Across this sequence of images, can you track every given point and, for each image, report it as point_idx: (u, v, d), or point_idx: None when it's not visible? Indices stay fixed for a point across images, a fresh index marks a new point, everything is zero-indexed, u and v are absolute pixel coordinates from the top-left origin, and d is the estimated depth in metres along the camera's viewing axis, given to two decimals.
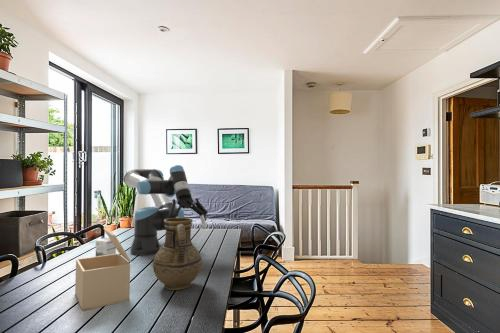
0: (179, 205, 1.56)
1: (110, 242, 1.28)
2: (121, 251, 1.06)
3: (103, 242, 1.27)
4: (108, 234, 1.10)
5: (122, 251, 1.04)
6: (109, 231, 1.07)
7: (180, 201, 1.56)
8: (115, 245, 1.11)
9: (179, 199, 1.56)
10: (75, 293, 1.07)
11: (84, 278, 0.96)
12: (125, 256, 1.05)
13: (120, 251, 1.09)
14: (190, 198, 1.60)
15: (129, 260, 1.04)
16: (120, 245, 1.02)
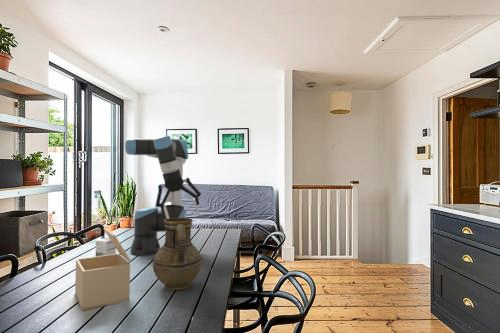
0: None
1: (110, 242, 1.28)
2: (121, 251, 1.06)
3: (103, 242, 1.27)
4: (108, 234, 1.10)
5: (122, 251, 1.04)
6: (109, 231, 1.07)
7: (167, 186, 1.37)
8: (115, 245, 1.11)
9: (166, 184, 1.36)
10: (75, 293, 1.07)
11: (84, 278, 0.96)
12: (125, 256, 1.05)
13: (120, 251, 1.09)
14: (179, 180, 1.37)
15: (129, 260, 1.04)
16: (120, 245, 1.02)
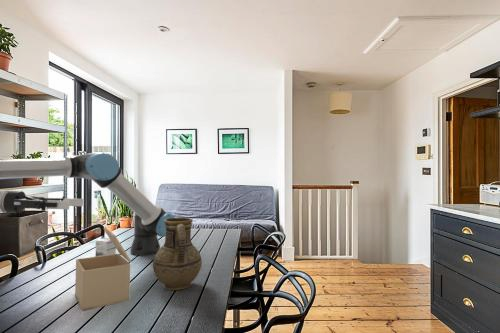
0: (37, 199, 1.10)
1: (110, 242, 1.28)
2: (121, 251, 1.06)
3: (103, 242, 1.27)
4: (108, 234, 1.10)
5: (122, 251, 1.04)
6: (109, 231, 1.07)
7: None
8: (115, 245, 1.11)
9: None
10: (75, 293, 1.07)
11: (84, 278, 0.96)
12: (125, 256, 1.05)
13: (120, 251, 1.09)
14: None
15: (129, 260, 1.04)
16: (120, 245, 1.02)
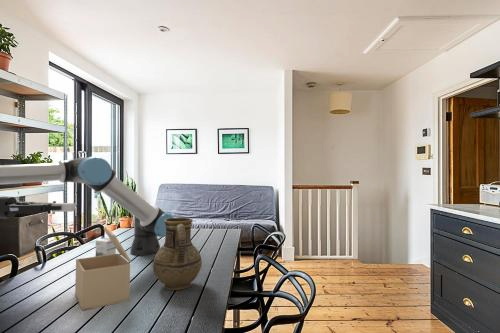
0: None
1: (110, 242, 1.28)
2: (121, 251, 1.06)
3: (103, 242, 1.27)
4: (108, 234, 1.10)
5: (122, 251, 1.04)
6: (109, 231, 1.07)
7: None
8: (115, 245, 1.11)
9: None
10: (75, 293, 1.07)
11: (84, 278, 0.96)
12: (125, 256, 1.05)
13: (120, 251, 1.09)
14: (8, 211, 1.03)
15: (129, 260, 1.04)
16: (120, 245, 1.02)
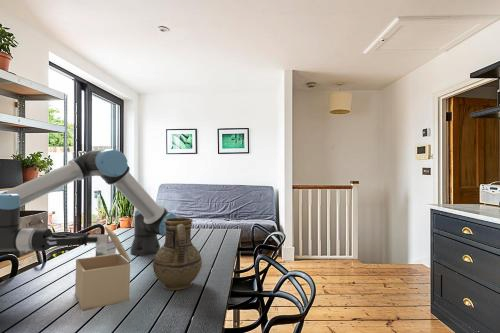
0: None
1: (110, 242, 1.28)
2: (121, 251, 1.06)
3: None
4: (109, 233, 1.10)
5: (122, 251, 1.04)
6: (110, 230, 1.07)
7: None
8: (115, 245, 1.11)
9: None
10: (75, 293, 1.07)
11: (84, 278, 0.96)
12: (125, 256, 1.05)
13: (120, 251, 1.09)
14: (45, 244, 1.04)
15: (129, 260, 1.04)
16: (121, 245, 1.02)
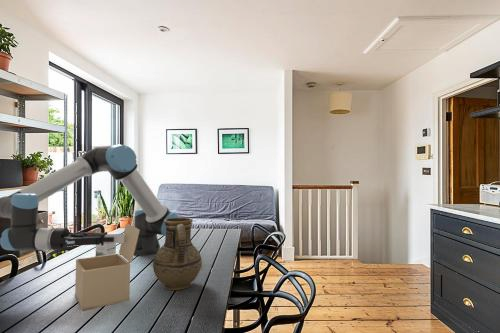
0: None
1: None
2: (129, 249, 1.08)
3: None
4: (128, 229, 1.14)
5: (132, 248, 1.05)
6: None
7: None
8: (124, 243, 1.13)
9: None
10: (75, 293, 1.07)
11: (84, 278, 0.96)
12: (130, 255, 1.05)
13: (126, 249, 1.10)
14: (64, 244, 1.05)
15: (131, 260, 1.04)
16: (135, 242, 1.05)
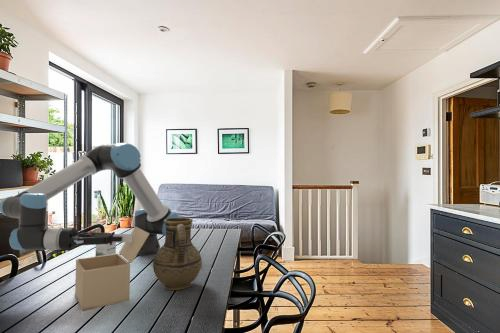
0: None
1: None
2: (132, 250, 1.08)
3: None
4: (136, 232, 1.16)
5: (136, 250, 1.06)
6: (143, 230, 1.13)
7: None
8: (128, 244, 1.14)
9: None
10: (75, 293, 1.07)
11: (84, 278, 0.96)
12: (132, 255, 1.06)
13: (128, 250, 1.10)
14: (72, 243, 1.06)
15: (131, 260, 1.04)
16: (142, 244, 1.06)
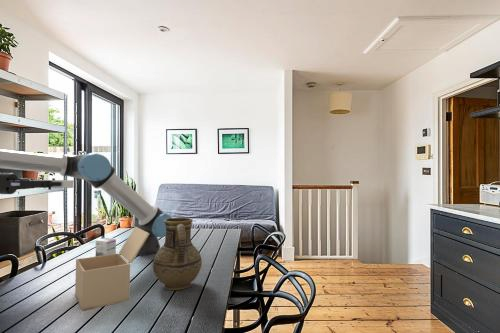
0: None
1: (110, 242, 1.28)
2: (132, 250, 1.08)
3: (103, 242, 1.27)
4: (136, 232, 1.16)
5: (136, 250, 1.06)
6: (143, 230, 1.13)
7: None
8: (128, 244, 1.14)
9: None
10: (75, 293, 1.07)
11: (84, 278, 0.96)
12: (132, 255, 1.06)
13: (128, 250, 1.10)
14: (9, 187, 1.06)
15: (131, 260, 1.04)
16: (142, 244, 1.06)
